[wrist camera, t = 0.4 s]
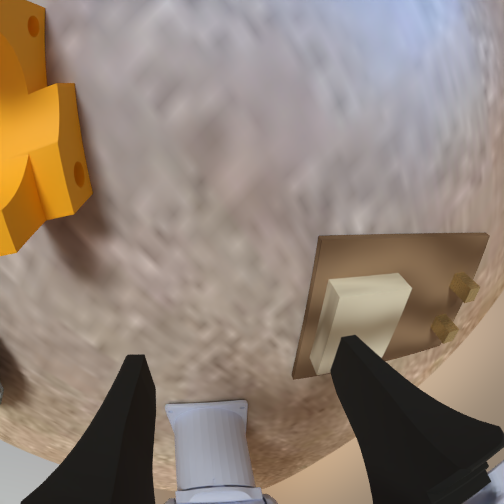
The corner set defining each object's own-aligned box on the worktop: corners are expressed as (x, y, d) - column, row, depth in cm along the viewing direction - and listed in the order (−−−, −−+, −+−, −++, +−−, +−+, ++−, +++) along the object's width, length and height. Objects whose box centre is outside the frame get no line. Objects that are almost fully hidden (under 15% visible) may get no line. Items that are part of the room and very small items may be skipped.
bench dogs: (440, 324, 26) (452, 340, 24) (430, 327, 26) (442, 343, 23) (464, 271, 23) (480, 287, 20) (454, 273, 22) (470, 289, 20)
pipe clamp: (93, 192, 15) (47, 246, 10) (35, 205, 15) (-20, 260, 9) (72, -2, 9) (17, -35, 4) (12, 25, 9) (-55, 15, 3)
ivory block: (370, 346, 25) (379, 361, 23) (309, 357, 24) (316, 375, 22) (398, 272, 21) (412, 288, 19) (328, 279, 20) (339, 297, 18)
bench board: (437, 342, 29) (439, 345, 28) (291, 374, 26) (293, 379, 25) (485, 232, 22) (489, 235, 21) (318, 235, 19) (322, 240, 18)
